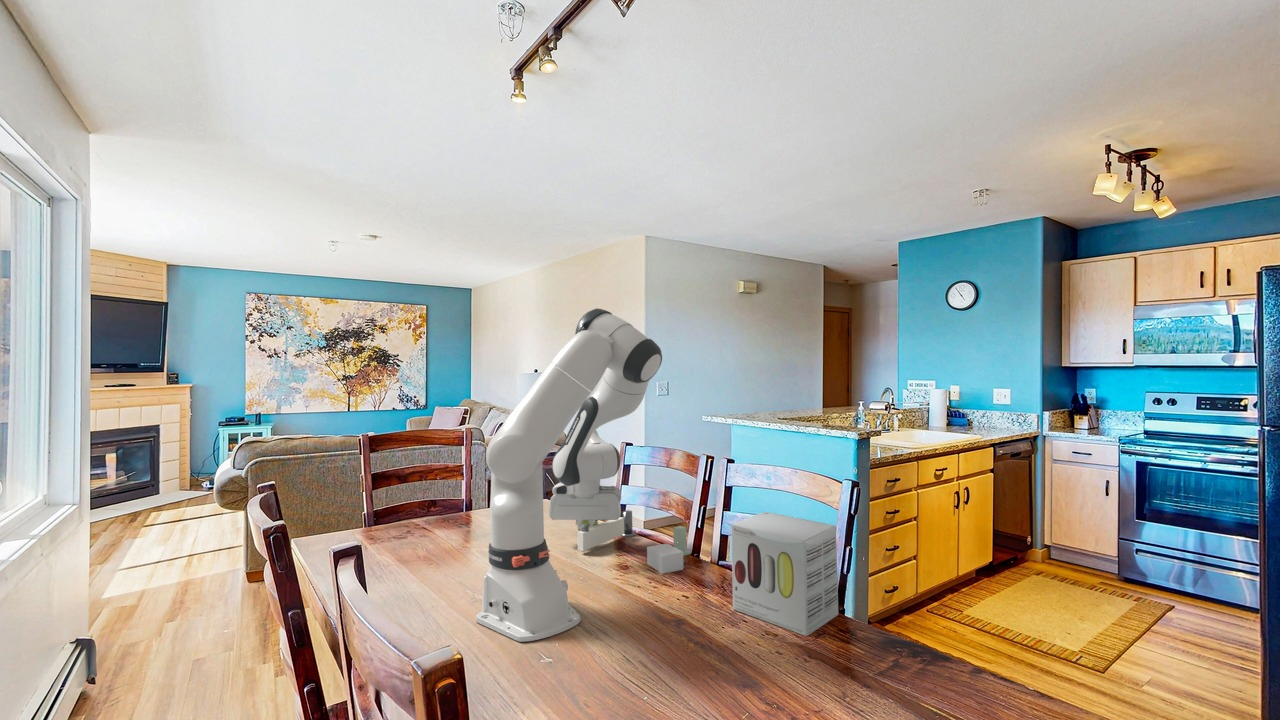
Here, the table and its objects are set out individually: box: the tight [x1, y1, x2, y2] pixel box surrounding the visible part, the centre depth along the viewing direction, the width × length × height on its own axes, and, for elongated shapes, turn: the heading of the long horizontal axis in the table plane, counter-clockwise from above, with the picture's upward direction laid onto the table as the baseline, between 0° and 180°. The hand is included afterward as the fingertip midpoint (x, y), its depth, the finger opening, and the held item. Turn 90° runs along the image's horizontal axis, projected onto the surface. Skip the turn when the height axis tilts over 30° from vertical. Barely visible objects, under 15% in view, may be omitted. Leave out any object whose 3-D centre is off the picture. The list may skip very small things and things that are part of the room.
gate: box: [576, 516, 624, 552], centre depth 164 cm, size 18×2×6 cm, turn 144°
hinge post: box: [620, 509, 636, 538], centre depth 174 cm, size 4×4×7 cm
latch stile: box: [672, 525, 692, 557], centre depth 157 cm, size 6×4×7 cm
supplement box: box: [731, 511, 839, 637], centre depth 118 cm, size 17×13×18 cm
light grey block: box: [646, 543, 684, 575], centre depth 147 cm, size 8×6×4 cm
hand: (585, 535), depth 165 cm, fingers closed
